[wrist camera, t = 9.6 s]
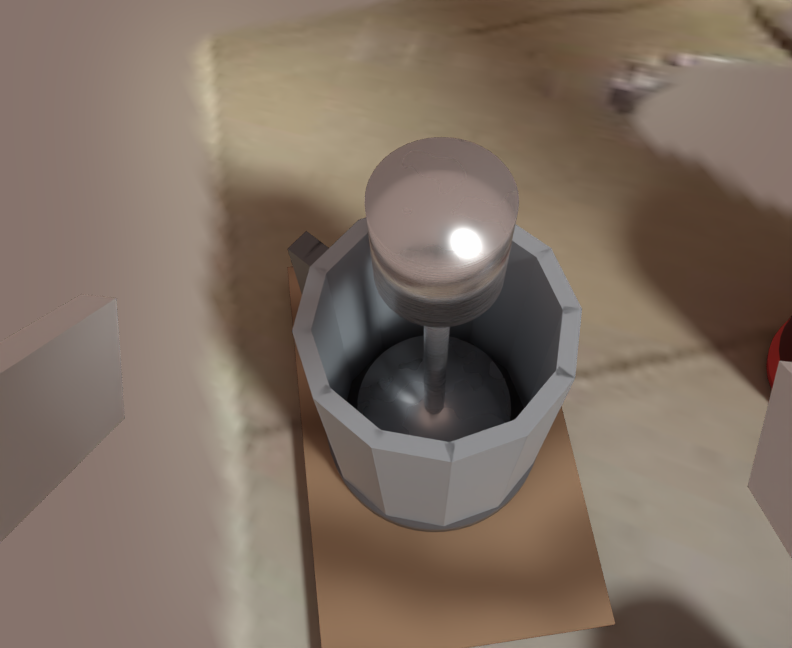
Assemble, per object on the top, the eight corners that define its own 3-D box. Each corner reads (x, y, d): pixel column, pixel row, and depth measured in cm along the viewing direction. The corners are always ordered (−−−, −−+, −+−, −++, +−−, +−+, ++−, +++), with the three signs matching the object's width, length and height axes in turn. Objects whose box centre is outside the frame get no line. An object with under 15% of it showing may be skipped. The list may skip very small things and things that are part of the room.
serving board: (290, 276, 46) (287, 267, 45) (516, 245, 47) (518, 235, 46) (326, 669, 37) (323, 668, 36) (609, 625, 37) (615, 623, 36)
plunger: (424, 314, 41) (425, 57, 24) (539, 401, 38) (629, 184, 22) (327, 418, 38) (253, 212, 22) (444, 517, 36) (461, 372, 19)
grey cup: (389, 272, 45) (377, 125, 33) (580, 414, 41) (644, 304, 29) (254, 409, 41) (187, 299, 30) (447, 580, 37) (458, 531, 25)
